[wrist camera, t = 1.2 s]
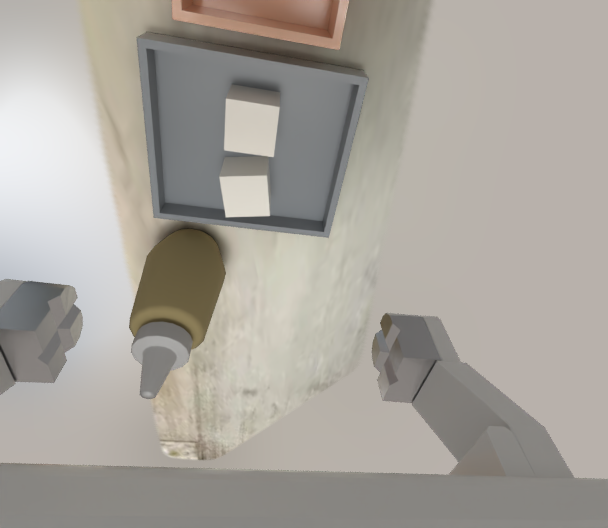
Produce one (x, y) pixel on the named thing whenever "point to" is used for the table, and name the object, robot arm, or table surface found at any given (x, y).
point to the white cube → (251, 120)
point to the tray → (211, 131)
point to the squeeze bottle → (174, 304)
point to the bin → (271, 18)
